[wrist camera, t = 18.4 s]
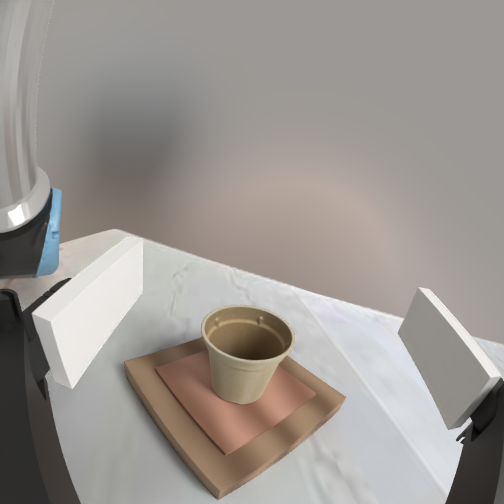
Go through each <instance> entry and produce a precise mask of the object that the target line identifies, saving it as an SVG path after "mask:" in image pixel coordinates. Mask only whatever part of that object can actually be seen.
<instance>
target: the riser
mask: <svg viewBox="0 0 504 504" xmlns="http://www.w3.org/2000/svg"><path fill="white" fill-rule="evenodd" d="M124 363H125V369H126V375H127V378H128V380H129V382H130V383H131V385H132V387H133V388H134V390H135V392H136V393H137V395H138V397H139V398H140V400H141V401H142V403H143V405H144V406H145V408H146V409H147V411H148V412H149V414H150V415H151V417H152V418H153V420H154V421H155V423H156V424H157V426H158V427H159V429H160V430H161V431H162V433H163V434H164V436H165V437H166V438H167V440H168V441H169V442H170V444H171V445H172V446H173V448H174V449H175V450H176V452H177V453H178V454H179V456H180V457H181V458H182V459H183V461H184V462H185V463H186V464H187V465H188V467H189V468H190V469H191V470H192V471H193V473H194V474H195V475H196V476H197V477H198V478H199V480H200V481H201V482H202V483H203V484H204V485H205V486H206V487H207V489H208V490H209V491H210V492H211V493H212V494H213V495H214V496H215V497H216V498H217V499H218V500H219V499H220V498H222V497H224V496H226V495H227V494H229V493H231V492H232V491H234V490H236V489H237V488H239V487H241V486H242V485H244V484H245V483H247V482H248V481H250V480H252V479H253V478H255V477H256V476H258V475H259V474H261V473H262V472H263V471H265V470H266V469H268V468H269V467H271V466H272V465H273V464H275V463H276V462H278V461H279V460H280V459H282V458H283V457H284V456H286V455H287V454H288V453H289V452H291V451H292V450H293V449H295V448H296V447H297V446H298V445H300V444H301V443H302V442H303V441H305V440H306V439H307V438H308V437H309V436H311V435H312V434H313V433H314V432H315V431H316V430H318V429H319V428H320V427H321V426H322V425H323V424H324V423H326V422H327V421H328V420H329V419H330V418H331V417H332V416H333V415H334V414H335V413H336V412H338V410H339V409H340V407H341V405H342V403H343V402H344V400H345V398H346V397H345V396H344V395H342V394H341V393H339V392H338V391H336V390H335V389H334V388H332V387H331V386H329V385H328V384H326V383H325V382H323V381H322V380H321V379H319V378H318V377H316V376H315V375H313V374H312V373H311V372H309V371H308V370H306V369H305V368H304V367H302V366H301V365H299V364H298V363H297V362H295V361H294V360H293V359H291V358H290V357H288V356H285V357H284V359H283V360H282V361H281V362H280V363H279V364H278V366H277V368H276V370H275V372H274V373H273V375H272V377H271V379H270V381H269V383H268V385H267V387H266V389H265V391H264V393H263V395H262V396H261V397H260V398H259V399H258V400H256V401H254V402H252V403H249V404H238V403H234V402H228V401H225V400H223V399H222V398H220V397H219V396H218V395H217V394H216V392H215V391H214V389H213V387H212V378H211V369H210V359H209V350H208V349H207V346H206V342H205V341H204V339H203V337H202V338H199V339H196V340H193V341H190V342H187V343H184V344H181V345H178V346H175V347H171V348H168V349H165V350H162V351H159V352H155V353H152V354H149V355H145V356H142V357H138V358H135V359H132V360H128V361H124Z"/></svg>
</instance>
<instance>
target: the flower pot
mask: <svg viewBox="0 0 504 504" xmlns="http://www.w3.org/2000/svg"><path fill="white" fill-rule="evenodd" d="M201 333H202V337H203V339H204V341H205V342H206V346H207V349H208V350H209V359H210V369H211V378H212V387H213V389H214V391H215V392H216V394H217V395H218V396H219V397H220V398H222V399H223V400H225V401H228V402H234V403H238V404H249V403H252V402H254V401H256V400H258V399H259V398H260V397H261V396H262V395H263V393H264V391H265V389H266V387H267V385H268V383H269V381H270V379H271V377H272V375H273V373H274V372H275V370H276V368H277V366H278V364H279V363H280V362H281V361H282V360H283V359H284V357H285V356H287V355H288V354H289V353H290V352H291V350H292V348H293V346H294V343H295V334H294V332H293V329H292V328H291V326H290V325H289V324H288V323H287V322H286V321H285V320H284V319H283V318H281V317H280V316H278V315H276V314H275V313H273V312H270V311H268V310H266V309H262V308H259V307H254V306H248V305H230V306H225V307H221V308H218V309H216V310H214V311H212V312H210V313H209V314H208V315H207V316H206V317H205V318H204V320H203V322H202V325H201Z"/></svg>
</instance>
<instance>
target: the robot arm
mask: <svg viewBox="0 0 504 504" xmlns="http://www.w3.org/2000/svg"><path fill="white" fill-rule="evenodd" d="M54 3H55V0H0V279H16V278H31V277H32V278H37V277H38V276H43V275H50V274H53V273H54V272H55V271H56V270H57V268H58V265H59V230H60V229H59V228H60V214H61V199H62V192H61V191H60V190H59V189H55V188H50V183H49V178H48V176H47V174H46V173H45V172H44V171H43V170H42V169H41V168H39V167H37V150H36V118H37V98H38V86H39V78H40V69H41V62H42V56H43V50H44V44H45V39H46V35H47V30H48V26H49V21H50V17H51V13H52V10H53V6H54ZM142 293H143V238H137V237H132V236H127V237H126V238H124V239H123V240H122V241H120V242H119V243H118V244H116V245H115V246H114V247H112V248H111V249H110V250H108V251H107V252H106V253H104V254H103V255H102V256H100V257H99V258H98V259H96V260H95V261H94V262H92V263H91V264H90V265H89V266H87V267H86V268H85V269H83V270H82V271H81V272H80V273H78V274H77V275H76V276H75V277H73V278H67V279H65V280H63V281H60V282H58V283H57V284H55V285H54V286H53V287H52V288H50V289H49V291H47V292H45V293H44V294H43V296H41V297H39V298H38V299H37V300H36V301H35V302H33V303H32V304H31V305H30V306H29V307H28V308H27V309H25V310H24V311H23V312H22V310H21V306H20V303H19V299H18V295H17V293H16V292H15V291H14V290H11V289H0V504H81V503H80V501H79V498H78V496H77V493H76V491H75V488H74V486H73V483H72V480H71V478H70V475H69V472H68V469H67V466H66V463H65V460H64V457H63V453H62V450H61V446H60V443H59V439H58V435H57V431H56V427H55V423H54V418H53V413H52V408H51V403H50V398H49V392H48V385H47V381H46V379H45V375H46V373H47V372H48V371H49V369H50V371H51V373H52V376H53V378H54V381H56V382H58V383H60V384H62V385H64V386H66V387H68V388H70V389H72V390H73V388H74V387H75V385H76V384H77V382H78V381H79V379H80V378H81V376H82V375H83V373H84V372H85V370H86V369H87V367H88V366H89V364H90V363H91V362H92V360H93V359H94V357H95V356H96V354H97V353H98V352H99V350H100V349H101V347H102V346H103V345H104V343H105V342H106V340H107V339H108V338H109V336H110V335H111V334H112V332H113V331H114V329H115V328H116V327H117V325H118V324H119V323H120V321H121V320H122V319H123V317H124V316H125V315H126V313H127V312H128V311H129V309H130V308H131V307H132V305H133V304H134V303H135V302H136V300H137V299H138V298H139V296H140V295H141V294H142ZM398 334H399V336H400V338H401V340H402V341H403V343H404V345H405V347H406V348H407V350H408V352H409V354H410V355H411V357H412V359H413V361H414V363H415V365H416V366H417V368H418V370H419V372H420V374H421V376H422V378H423V380H424V381H425V383H426V385H427V387H428V389H429V391H430V393H431V395H432V397H433V399H434V401H435V403H436V405H437V407H438V409H439V411H440V414H441V416H442V418H443V420H444V422H445V424H446V426H447V429H448V430H450V429H454V428H458V427H461V426H462V425H463V424H464V423H465V421H466V420H467V419H468V418H469V417H470V418H471V419H472V422H471V423H470V425H469V426H468V427H467V428H466V429H465V430H464V431H463V432H462V433H461V434H460V435H459V436H458V437H457V439H456V441H459V440H460V439H461V438H462V437H465V438H464V439H463V440H462V441H461V442H460V443H462V444H464V445H463V449H462V453H461V457H460V460H459V464H458V468H457V471H456V474H455V477H454V481H453V484H452V487H451V490H450V492H449V495H448V498H447V501H446V503H445V504H504V381H503V379H502V378H501V374H500V373H499V372H498V370H497V369H496V368H495V366H494V365H493V364H492V362H491V361H490V360H489V358H488V357H487V356H486V354H485V353H484V352H483V351H482V349H481V348H480V347H479V346H478V344H477V343H476V342H475V341H474V339H473V338H472V337H471V336H470V334H469V333H468V332H467V331H466V330H465V328H463V326H462V325H461V324H460V323H459V322H458V320H457V319H456V318H455V317H454V316H453V315H452V314H451V312H450V311H449V310H448V309H447V308H446V307H445V306H444V304H443V303H441V301H440V300H439V299H438V298H437V297H436V296H435V295H434V294H433V293H432V292H431V290H430V289H426V288H420V287H418V289H417V291H416V294H415V296H414V298H413V301H412V303H411V305H410V307H409V310H408V312H407V314H406V316H405V318H404V321H403V323H402V325H401V327H400V329H399V331H398Z"/></svg>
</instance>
